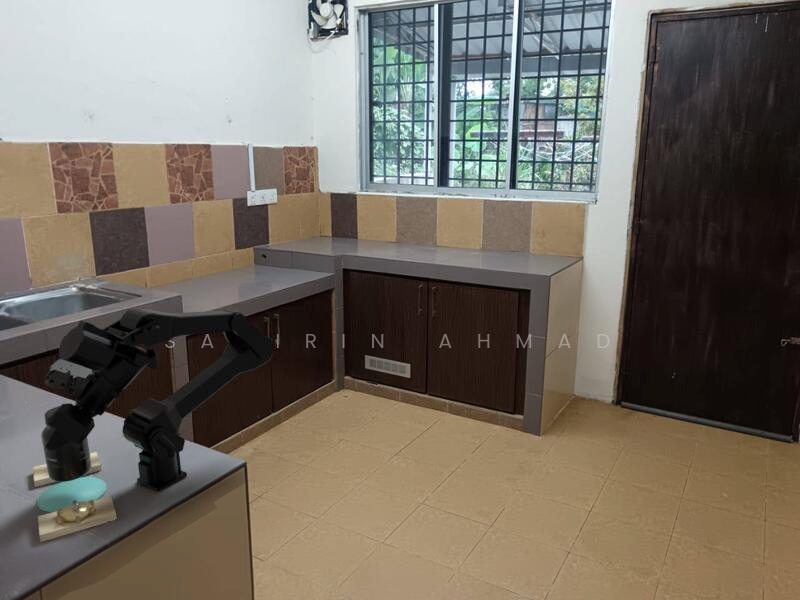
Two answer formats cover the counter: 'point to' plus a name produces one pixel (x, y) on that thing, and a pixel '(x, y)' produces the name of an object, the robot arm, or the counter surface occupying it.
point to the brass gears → (76, 512)
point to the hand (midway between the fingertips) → (55, 439)
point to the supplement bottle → (65, 456)
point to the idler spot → (71, 493)
